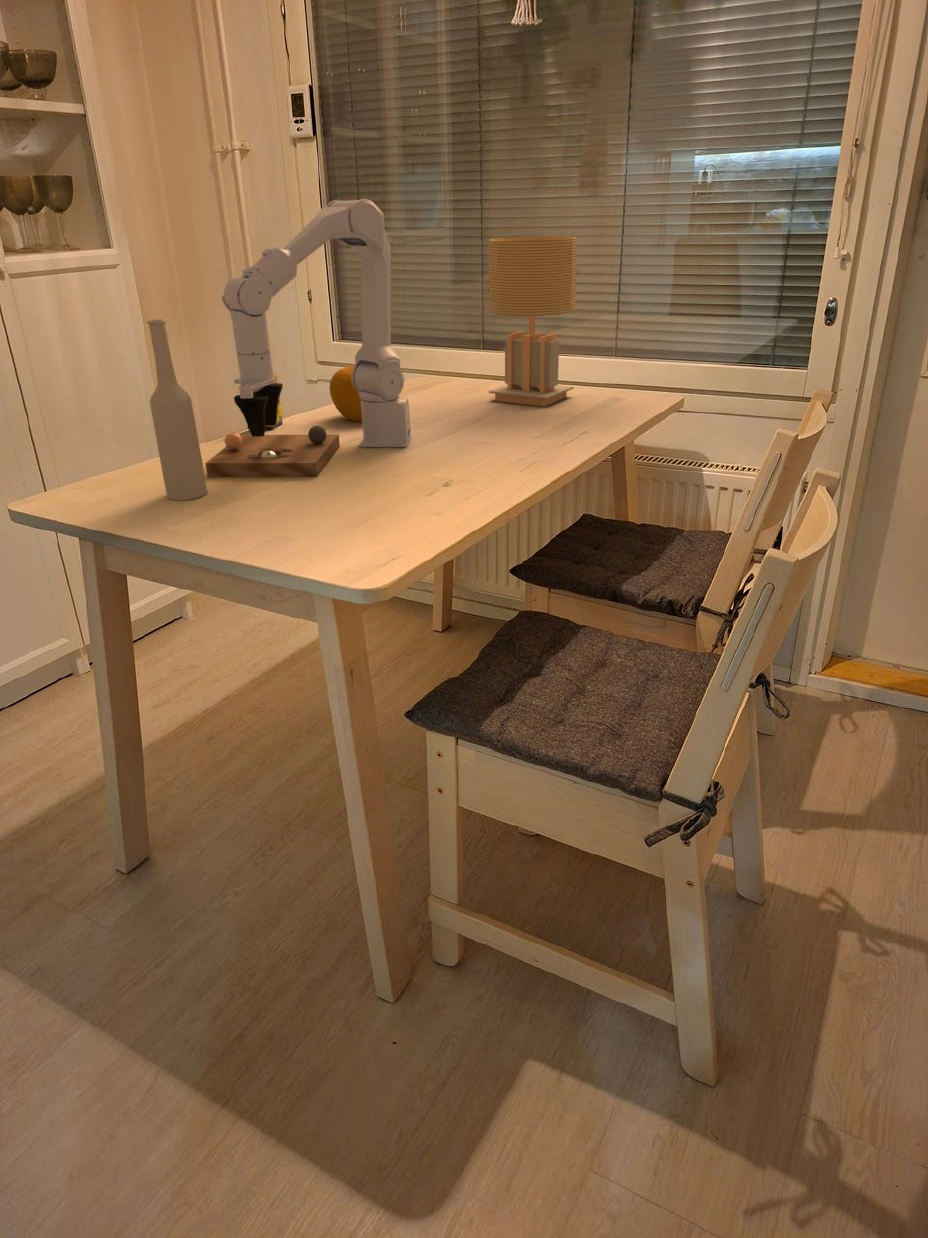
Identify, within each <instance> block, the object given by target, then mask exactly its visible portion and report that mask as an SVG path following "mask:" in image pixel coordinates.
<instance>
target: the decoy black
mask: <svg viewBox="0 0 928 1238" xmlns="http://www.w3.org/2000/svg"><path fill="white" fill-rule="evenodd" d="M326 434H327V432H326V429H325V428H324V427H322V426H320V425H313V426H312V427H311V428H310V429H309V430H308V434H307V435H308V436H309V439H310V441H311V442H313V443H315V444H321V443H323V442H324V441H325V439H326Z"/></svg>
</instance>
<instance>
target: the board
mask: <svg viewBox="0 0 928 1238" xmlns="http://www.w3.org/2000/svg"><path fill="white" fill-rule="evenodd" d="M239 435H240V436H241V438H242V441H243V442H242V446H241V447H240V448H239V449H237V450H231V449H229V448H228V447H227V446H226V445H225V447H223V448H222V449H221V450H220V451H218V452H217V453H215V455H214V456H213V457H211V458H210V459H209V460H208V461H206V462H205V463H204V464H205V469H206V474H207V477H208V478H243V477H244V478H246V477H247V478H260V477H261V478H265V477H266V478H273V477H274V478H276V477H277V478H286V477H288V478H290V477H291V478H292V477H293V478H302V477H303V478H305V477H306V478H307V477H308V478H310V477H311V478H312V477H313V478H316V477H318V476H319V475H320V473H321V472H322V471H323V470H324V468H325V467H326V466H327V465H328V463H329V462H330V461H331V459H332V458H333V457H334V455H335V454H336V453H337V451H338V450H339V449H340V447H341V443H340V435H339V434H335V433H334V434H331V433H330V434H327V433H326V439H325V441H324V442H323V443H321V444H315V443H313V442H311V441H310V439H309V436H308V434H264V436H256V437H253V436H252V435H251V434H239ZM268 450H270V451H273V452H275V453H276V454H277V456H275V457H261V455H262V453H263V452H265V451H268Z"/></svg>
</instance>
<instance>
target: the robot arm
mask: <svg viewBox="0 0 928 1238" xmlns="http://www.w3.org/2000/svg"><path fill="white" fill-rule="evenodd" d="M335 239H336V240H338V241H340V242H342V243H344V244H345V245H348V246H349V247H350V248H351V249H352V251H353V252H354V253H356V255H357V256H358V257H359V258H360V283H361V285H360V286H361V288H360V290H361V291H360V292H361V293H360V294H361V299H360V300H361V346H360V348H359V350H358V351H357V352H356V354H355V356H354V358H355V359H354V368H353V371H352V383H353V386H354V387H355V389H356V390H357V391H359V397H360V398H361V411H362V422H361V423H362V435H363V437H362V439H361V440H360V442H359V444H358V446H359V447H360V448H402V447H403V448H406V447H407V446H408V444H409V442H410V440H411V438H412V435H411V434H412V433H411V419H410V416H411V415H410V403H409V400H408V398H405V397H400V394H401V393H402V391H403V389H404V384H405V379H404V374H403V372H402V369H401V359H400V357H399V356H398V355H397V353H396V352H395V351H394V349H393V348H392V340H391V339H392V331H391V328H392V326H391V325H392V323H391V321H392V318H391V317H392V312H391V311H392V308H391V307H392V304H391V302H392V298H391V297H392V295H391V293H392V290H391V289H392V287H391V284H392V282H391V281H392V278H391V277H392V276H391V275H392V273H391V271H392V270H391V268H392V267H391V265H392V264H391V262H392V261H391V259H392V258H391V256H392V255H391V253H392V252H391V244H390V241H389V238H388V235H387V233H386V230H385V214H384V212H382V210H381V209H380V208H379V207H378V205H376V204H375V203H374V202H373V201H372V200H370V199H368V198H367V199H366V198H365V199H358V200H357V199H356V200H341V199H334V200H332V201H330V202H329V203H328V204H327V205H326V206H324V207H322V208H321V209H319V210H318V212H317V213H316V215H315V216H314V218H312V220H310V221H309V222H308V224H307V225H306V226H304V228H302V229H301V230H300V231H299V233H298V234H296V235H295V236H294V237H293V239H291V240H290V241H289V242H288V243H287V244H286V246H284V247H283V248H281V247H272V248H265V249H264V250H262V252H261V255H262V256H261V258H259V259H258V260H257V261H256V262H255V263H253V264H252V266H250V267H244V269H243V270H242V276H238V277H233V278H231V279H229V280H228V281H227V282H226V284H225V286H224V287H225V288H224V289H223V295H221V302H222V303H223V305H224V306H225V308H226V309H227V310H228V311H229V313H230V317H231V322H232V330H233V335H234V336H233V337H234V343H235V351H236V358H237V365H238V371H239V377H235V378H234V379H233V382H234V384H239V385H240V386H239V387H238V389H239V394H237V395H235V396H233V401H234V404H235V405H236V406H237V407H238V409H239V410H240V412H241V414H242V415H243V417H244V419H245V422H246V424H247V425H248V426H247V429H248V428H249V429H248V430H249V432H250V435H252V436H253V437H256V436H264V435H266V433H265V432H266V430H265V426H275V425H276V422H277V410H278V401H279V397H281V393H282V391H283V383H280V382H278V383H275V375H274V374H275V370H274V369H273V368H274V367H273V361H272V360H273V359H272V353H271V346H270V339H269V328H268V322H267V321H268V320H267V314H266V312H267V311H268V310H269V309H270V307H271V304H272V303H271V301H272V298H274V296H276V295H277V294H278V293H279V292H281V290H282V289H283V288H285V287H286V286H287V285H288V284H289V283H290V282H291V281H293V280H294V279H295V278H296V277H297V274H298V265H299V264H300V263H302V262H303V261H304V260H305V259H307V258H308V257H309V256H311V255H312V254H313V253H315V252H316V251H317V250H318V249H320V248H321V247H322V246H323V245H324V244H326V243H327V242H328V241H329V240H335Z"/></svg>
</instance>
